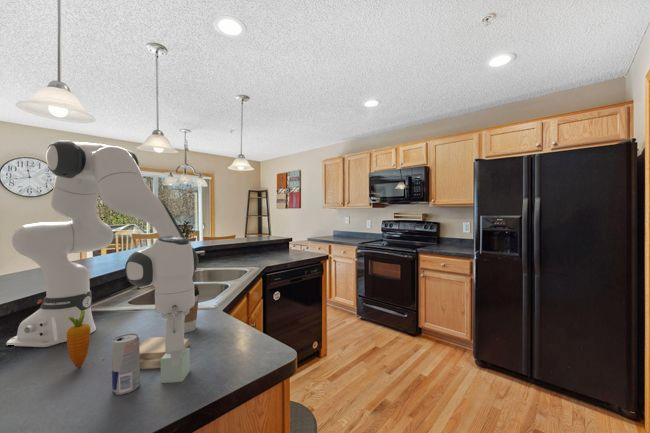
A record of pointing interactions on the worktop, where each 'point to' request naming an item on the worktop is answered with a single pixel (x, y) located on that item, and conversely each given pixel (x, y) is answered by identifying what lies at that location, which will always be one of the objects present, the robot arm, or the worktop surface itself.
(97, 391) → the worktop surface
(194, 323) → the coffee cup
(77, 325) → the carrot
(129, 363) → the energy drink
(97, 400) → the worktop surface
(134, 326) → the worktop surface
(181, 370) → the block
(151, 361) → the stand
